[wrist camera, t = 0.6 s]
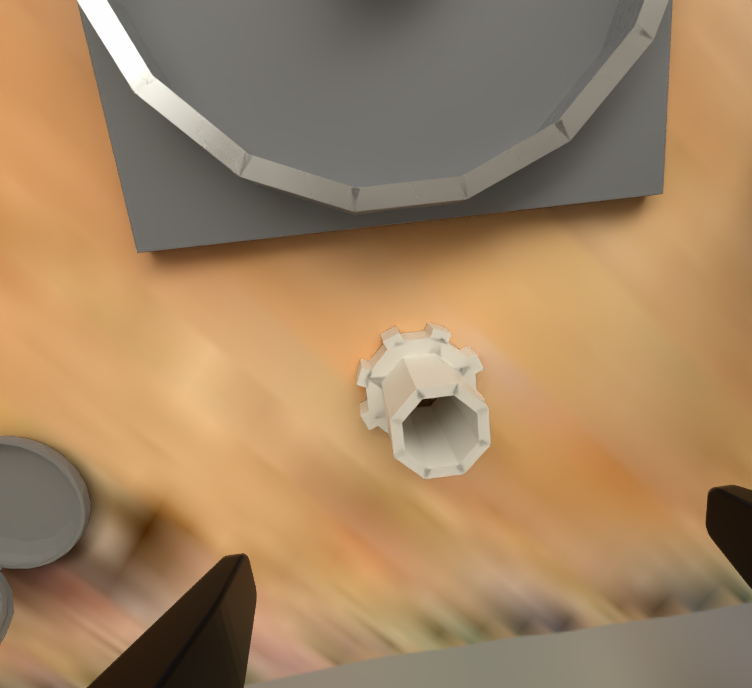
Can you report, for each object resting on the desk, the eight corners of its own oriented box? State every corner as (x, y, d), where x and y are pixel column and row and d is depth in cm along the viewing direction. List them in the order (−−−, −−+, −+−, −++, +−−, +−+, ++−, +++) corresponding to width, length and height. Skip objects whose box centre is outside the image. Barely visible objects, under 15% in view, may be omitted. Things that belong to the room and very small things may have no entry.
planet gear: (471, 316, 19) (518, 344, 14) (478, 428, 21) (522, 493, 15) (350, 331, 19) (350, 365, 14) (364, 443, 20) (369, 513, 15)
